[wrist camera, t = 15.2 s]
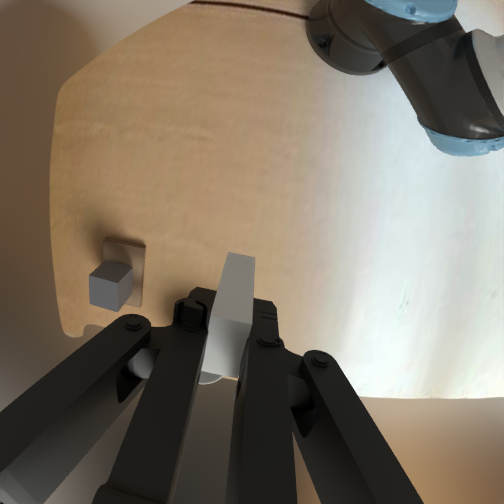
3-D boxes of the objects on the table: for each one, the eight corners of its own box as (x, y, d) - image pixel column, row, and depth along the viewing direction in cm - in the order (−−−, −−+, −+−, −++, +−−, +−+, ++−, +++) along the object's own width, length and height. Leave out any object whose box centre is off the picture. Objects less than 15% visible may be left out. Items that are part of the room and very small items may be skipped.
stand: (106, 237, 51) (84, 252, 43) (145, 246, 51) (128, 264, 43) (105, 294, 55) (86, 315, 47) (141, 304, 55) (126, 328, 47)
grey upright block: (106, 260, 50) (88, 275, 44) (133, 266, 50) (117, 283, 44) (105, 286, 52) (89, 303, 45) (131, 293, 52) (117, 312, 46)
